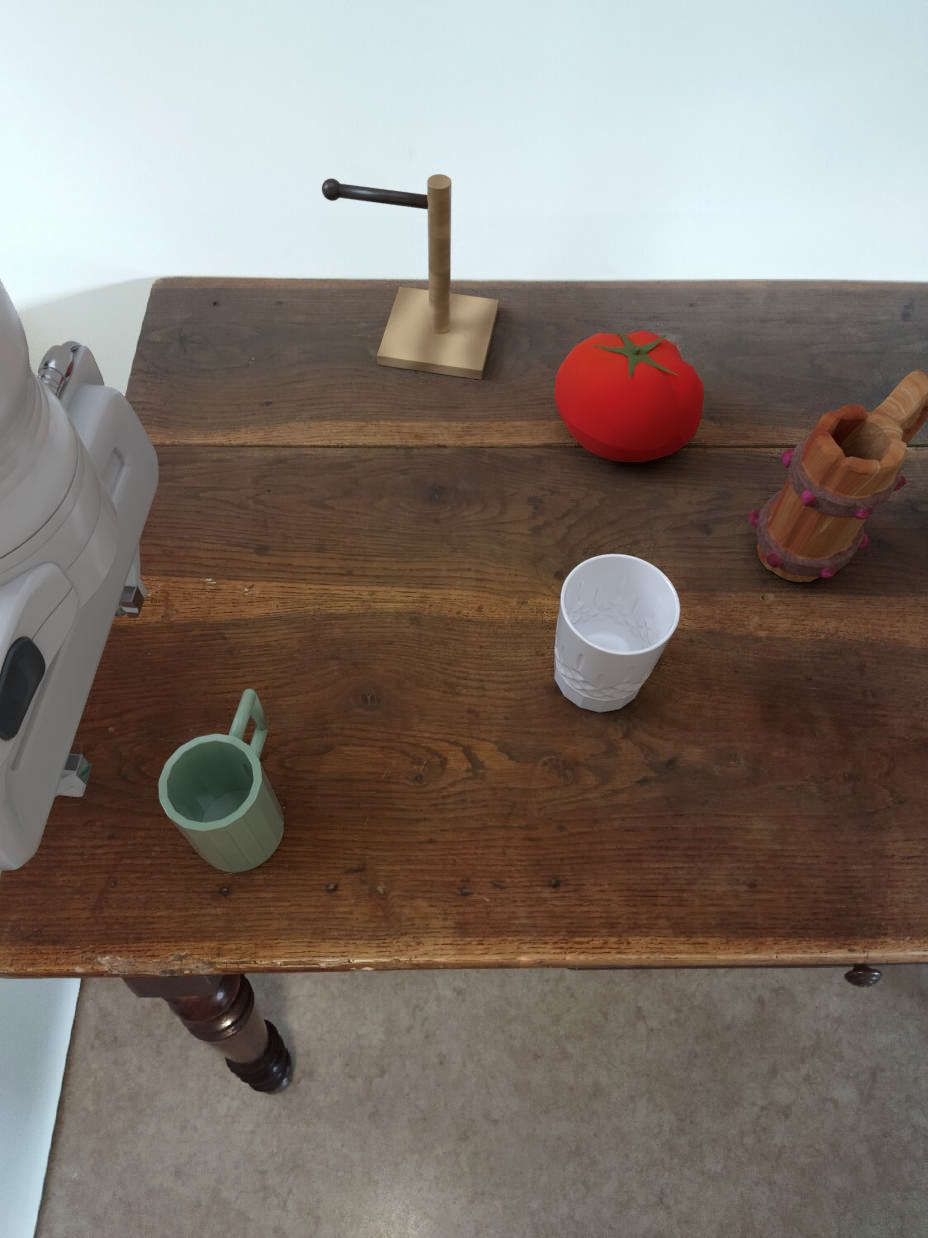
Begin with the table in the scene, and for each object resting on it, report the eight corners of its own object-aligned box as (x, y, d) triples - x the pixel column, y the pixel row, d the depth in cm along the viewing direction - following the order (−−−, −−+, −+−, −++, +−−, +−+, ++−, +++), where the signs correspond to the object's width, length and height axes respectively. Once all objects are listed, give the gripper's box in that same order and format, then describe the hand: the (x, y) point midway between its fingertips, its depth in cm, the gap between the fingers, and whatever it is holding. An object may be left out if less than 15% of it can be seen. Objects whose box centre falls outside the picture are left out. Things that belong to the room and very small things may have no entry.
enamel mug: (269, 880, 58) (243, 838, 51) (182, 863, 59) (143, 820, 51) (310, 741, 63) (292, 684, 56) (229, 727, 64) (200, 668, 56)
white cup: (544, 626, 69) (559, 551, 60) (645, 629, 69) (674, 555, 60) (546, 718, 65) (562, 652, 56) (653, 722, 65) (685, 656, 56)
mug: (797, 617, 70) (878, 496, 57) (718, 553, 73) (778, 424, 60) (904, 521, 75) (1000, 391, 62) (826, 465, 78) (902, 330, 65)
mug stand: (498, 309, 88) (509, 153, 74) (481, 380, 83) (489, 226, 69) (351, 288, 89) (334, 131, 75) (325, 357, 84) (302, 201, 70)
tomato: (673, 502, 76) (703, 417, 67) (532, 461, 78) (544, 373, 69) (701, 413, 81) (732, 324, 72) (569, 377, 83) (584, 285, 74)
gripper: (-8, 307, 36) (100, 509, 48) (-253, 789, 26) (-40, 891, 38) (145, 323, 36) (214, 521, 48) (-41, 811, 26) (105, 907, 38)
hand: (101, 688), depth 43 cm, fingers open, 8 cm apart
